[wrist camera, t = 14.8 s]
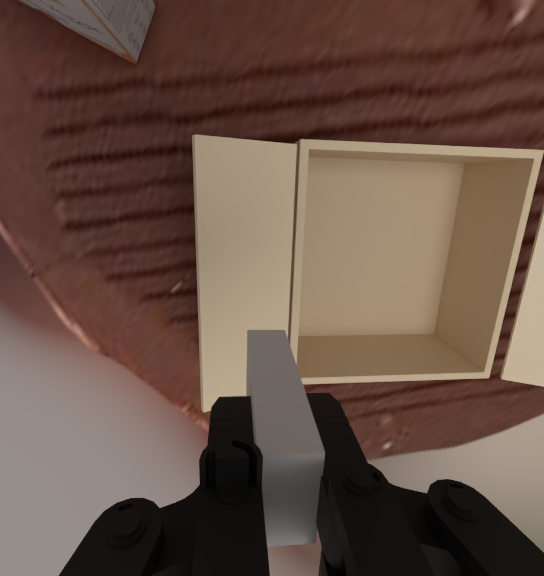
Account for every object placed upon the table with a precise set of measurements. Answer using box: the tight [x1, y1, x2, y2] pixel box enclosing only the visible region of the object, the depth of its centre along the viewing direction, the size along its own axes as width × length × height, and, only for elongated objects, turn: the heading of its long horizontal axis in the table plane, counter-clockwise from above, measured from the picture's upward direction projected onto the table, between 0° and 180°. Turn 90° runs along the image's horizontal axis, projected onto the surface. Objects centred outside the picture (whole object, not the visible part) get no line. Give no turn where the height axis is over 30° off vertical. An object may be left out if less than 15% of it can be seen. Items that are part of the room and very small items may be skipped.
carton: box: [288, 139, 544, 384], centre depth 36 cm, size 22×21×10 cm
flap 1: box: [192, 134, 297, 413], centre depth 28 cm, size 21×1×8 cm
